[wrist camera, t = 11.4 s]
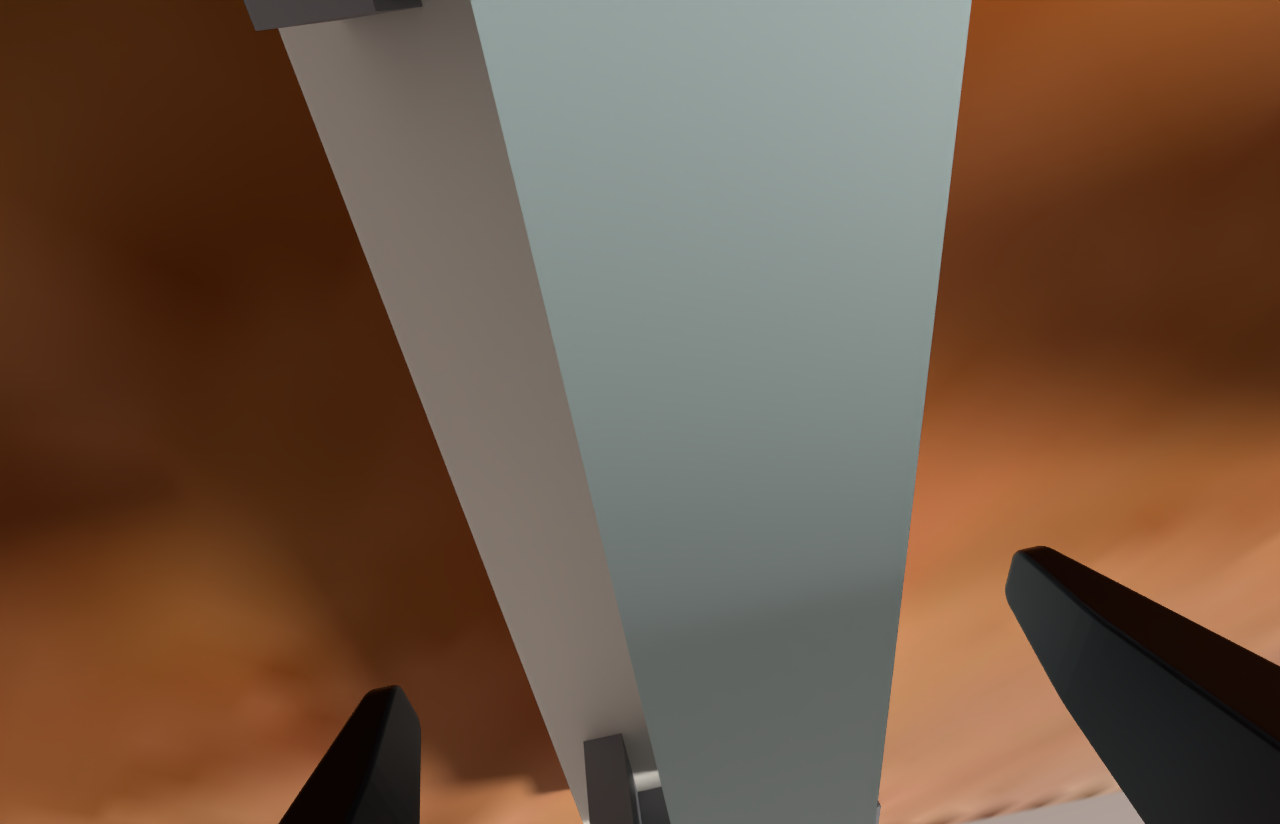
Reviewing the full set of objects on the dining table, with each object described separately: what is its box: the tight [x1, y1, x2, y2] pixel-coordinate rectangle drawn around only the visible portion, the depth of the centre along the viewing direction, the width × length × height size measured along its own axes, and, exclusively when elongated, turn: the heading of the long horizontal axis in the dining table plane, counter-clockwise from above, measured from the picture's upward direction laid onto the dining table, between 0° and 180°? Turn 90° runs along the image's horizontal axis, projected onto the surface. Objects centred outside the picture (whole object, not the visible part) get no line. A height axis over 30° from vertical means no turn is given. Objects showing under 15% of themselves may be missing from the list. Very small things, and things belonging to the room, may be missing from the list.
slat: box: [471, 0, 972, 824], centre depth 10 cm, size 2×20×6 cm, turn 9°
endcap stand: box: [243, 0, 881, 824], centre depth 12 cm, size 8×26×4 cm, turn 8°
